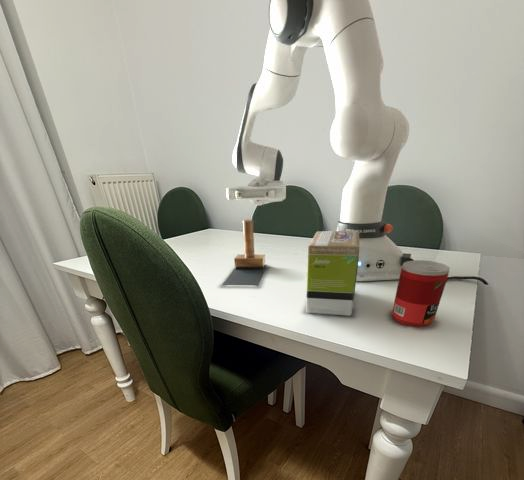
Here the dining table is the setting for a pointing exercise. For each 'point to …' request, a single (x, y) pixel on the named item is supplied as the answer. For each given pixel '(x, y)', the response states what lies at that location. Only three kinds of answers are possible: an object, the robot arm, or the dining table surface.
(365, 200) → the robot arm
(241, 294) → the dining table surface
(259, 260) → the brush
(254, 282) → the mat
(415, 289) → the canned food
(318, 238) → the tea box
